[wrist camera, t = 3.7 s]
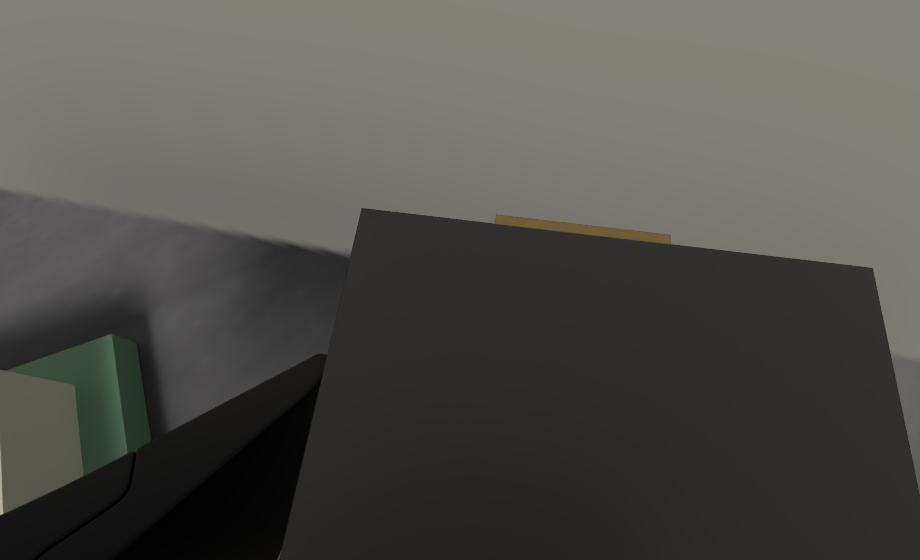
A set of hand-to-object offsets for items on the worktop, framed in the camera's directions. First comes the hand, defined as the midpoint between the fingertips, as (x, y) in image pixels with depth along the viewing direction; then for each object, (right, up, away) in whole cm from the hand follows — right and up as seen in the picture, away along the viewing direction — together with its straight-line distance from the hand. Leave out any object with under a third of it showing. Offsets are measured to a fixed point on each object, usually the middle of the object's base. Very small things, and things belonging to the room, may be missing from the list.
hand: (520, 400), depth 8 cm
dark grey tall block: (0, -4, +6) cm, 7 cm away
